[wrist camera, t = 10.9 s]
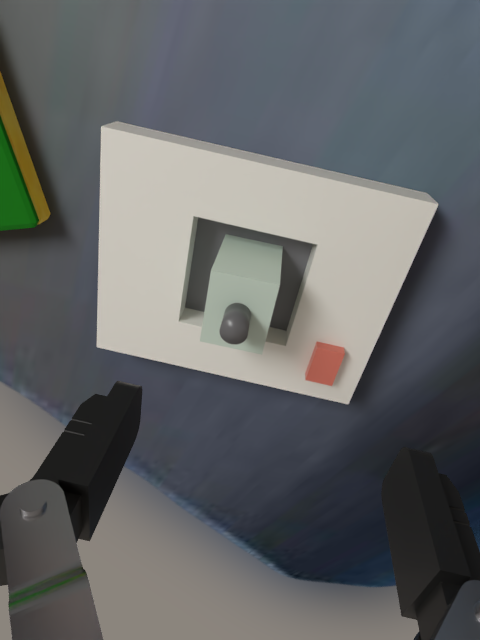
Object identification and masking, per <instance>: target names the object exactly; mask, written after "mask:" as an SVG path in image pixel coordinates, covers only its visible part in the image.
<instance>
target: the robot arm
mask: <svg viewBox="0 0 480 640" xmlns="http://www.w3.org/2000/svg"><path fill="white" fill-rule="evenodd" d="M141 401H142V386H138V385H134V384H129V383H125V382H121V381H117V382H116V383H115V384H114V386H113V388H112V389H111V391H110V393H109V394H108V396H103V395H98V394H95V395H93V396H92V397H90V398H89V399H88V400H86V401H85V402H84V403H82V404H81V405H80V407H79V408H78V410H77V411H76V413H75V414H74V416H73V417H72V420H71V421H70V422H69V423H68V425H67V427H66V428H65V431H64V432H63V433H62V434H61V436H60V437H59V439H58V441H57V442H56V443H55V445H54V446H53V448H52V449H51V451H50V453H49V454H48V456H47V457H46V459H45V460H44V462H43V463H42V465H41V466H40V468H39V469H38V471H37V473H36V474H35V475H34V477H33V478H32V479H31V480H30V481H28V482H26V483H23V484H21V485H19V486H18V487H16V488H15V489H13V490H12V491H11V492H10V493H8V494H4V495H1V496H0V586H2V585H8V590H9V615H10V624H11V634H12V640H103V637H102V632H101V628H100V624H99V620H98V616H97V612H96V608H95V605H94V600H93V597H92V592H91V588H90V584H89V581H88V577H87V574H86V572H85V570H84V569H83V567H82V564H81V560H80V556H79V552H78V548H77V544H76V543H77V541H78V539H83V540H87V541H90V539H91V537H92V535H93V533H94V531H95V528H96V526H97V524H98V522H99V519H100V517H101V515H102V513H103V511H104V508H105V506H106V504H107V502H108V500H109V497H110V495H111V493H112V490H113V488H114V486H115V484H116V482H117V479H118V477H119V475H120V473H121V471H122V468H123V466H124V464H125V462H126V459H127V457H128V455H129V453H130V451H131V448H132V446H133V444H134V442H135V439H136V436H137V433H138V429H139V425H140V415H141ZM382 504H383V509H384V515H385V521H386V527H387V533H388V539H389V545H390V551H391V556H392V562H393V568H394V574H395V580H396V586H397V592H398V597H399V603H400V609H401V615H402V616H403V617H407V618H412V619H416V620H417V621H418V625H419V632H418V634H417V635H416V636H415V638H414V640H480V552H479V549H478V546H477V543H476V540H475V537H474V534H473V532H472V529H471V527H469V524H470V523H469V520H468V517H467V514H466V513H465V512H464V510H465V509H464V506H463V503H462V500H461V497H460V495H459V492H458V490H457V489H456V488H455V486H454V485H453V484H452V482H451V481H450V479H449V478H448V477H447V475H444V474H440V473H438V471H437V467H436V464H435V461H434V458H433V456H432V454H431V453H428V452H424V451H420V450H415V449H411V448H406V447H403V448H402V449H401V450H400V452H399V454H398V455H397V457H396V459H395V461H394V462H393V464H392V466H391V468H390V469H389V471H388V473H387V475H386V477H385V478H384V481H383V485H382Z"/></svg>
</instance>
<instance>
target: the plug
mask: <svg viewBox="0 0 480 640" xmlns="http://www.w3.org/2000/svg"><path fill="white" fill-rule="evenodd" d="M282 250H283V246H279V245H274V244H270V243H265V242H260V241H256V240H251V239H246V238H241V237H237V236H232V235H227V234H226V235H225V237H224V240H223V242H222V245H221V247H220V250H219V252H218V254H217V257H216V259H215V262H214V264H213V267H212V269H211V273H210V280H209V286H208V292H207V299H206V305H205V311H204V318H203V324H202V330H201V337H200V341H201V342H205V343H210V344H215V345H219V346H224V347H229V348H233V349H238V350H243V351H247V352H252V353H257V354H261V355H262V353H263V349H264V345H265V341H266V337H267V333H268V329H269V326H270V322H271V318H272V314H273V310H274V306H275V302H276V298H277V295H278V291H279V287H280V278H281V264H282Z"/></svg>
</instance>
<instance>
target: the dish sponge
mask: <svg viewBox="0 0 480 640" xmlns="http://www.w3.org/2000/svg"><path fill="white" fill-rule="evenodd" d="M49 216H50V211H49V208H48V205H47V202H46V199H45V197H44V194H43V191H42V188H41V185H40V182H39V180H38V177H37V174H36V171H35V168H34V165H33V163H32V160H31V157H30V154H29V151H28V149H27V146H26V143H25V140H24V137H23V134H22V132H21V129H20V126H19V123H18V120H17V117H16V115H15V112H14V109H13V106H12V103H11V100H10V98H9V95H8V92H7V89H6V86H5V84H4V81H3V78H2V75H1V72H0V231H2V230H13V229H24V228H34V227H36V226H37V225H39V224H41V223H42V222H44V221H45V220H47V219H48V218H49Z"/></svg>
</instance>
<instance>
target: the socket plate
mask: <svg viewBox="0 0 480 640" xmlns="http://www.w3.org/2000/svg"><path fill="white" fill-rule="evenodd" d="M438 205H439V204H438V203H437V202H436V201H435V200H434V199H433V198H432V197H431V196H430V195H429V194H428V193H424V192H420V191H416V190H411V189H407V188H403V187H399V186H394V185H390V184H386V183H381V182H377V181H373V180H368V179H364V178H360V177H355V176H351V175H347V174H342V173H338V172H334V171H329V170H325V169H321V168H316V167H312V166H308V165H304V164H299V163H295V162H291V161H286V160H282V159H278V158H273V157H269V156H265V155H260V154H256V153H252V152H247V151H243V150H239V149H234V148H230V147H226V146H221V145H217V144H213V143H209V142H204V141H200V140H196V139H191V138H187V137H183V136H178V135H174V134H170V133H165V132H161V131H157V130H152V129H148V128H144V127H139V126H135V125H131V124H126V123H122V122H118V121H116V122H113V123H110V124H107V125H104V126H101V165H100V214H99V263H98V311H97V347H98V348H103V349H107V350H112V351H116V352H120V353H125V354H129V355H133V356H138V357H142V358H147V359H151V360H155V361H160V362H164V363H169V364H173V365H177V366H182V367H186V368H191V369H195V370H199V371H204V372H208V373H212V374H217V375H221V376H226V377H230V378H234V379H239V380H243V381H248V382H252V383H256V384H261V385H265V386H270V387H274V388H278V389H283V390H287V391H291V392H296V393H300V394H305V395H309V396H313V397H318V398H322V399H327V400H331V401H335V402H340V403H344V404H349V402H350V400H351V397H352V395H353V393H354V391H355V388H356V386H357V384H358V382H359V380H360V377H361V375H362V373H363V371H364V369H365V366H366V364H367V362H368V360H369V357H370V355H371V353H372V351H373V349H374V346H375V344H376V342H377V340H378V337H379V335H380V333H381V331H382V329H383V326H384V324H385V322H386V320H387V318H388V315H389V313H390V311H391V309H392V306H393V304H394V302H395V300H396V298H397V295H398V293H399V291H400V289H401V287H402V284H403V282H404V280H405V278H406V275H407V273H408V271H409V269H410V267H411V264H412V262H413V260H414V258H415V256H416V253H417V251H418V249H419V247H420V244H421V242H422V240H423V238H424V236H425V233H426V231H427V229H428V227H429V224H430V222H431V220H432V218H433V216H434V213H435V211H436V209H437V207H438ZM226 234H227V235H232V236H237V237H241V238H246V239H251V240H256V241H260V242H265V243H270V244H274V245H279V246H283V250H282V264H281V278H280V287H279V291H278V295H277V298H276V302H275V306H274V310H273V314H272V318H271V322H270V326H269V329H268V333H267V337H266V341H265V345H264V349H263V353H262V355H261V354H257V353H252V352H247V351H243V350H238V349H233V348H229V347H224V346H219V345H215V344H210V343H205V342H201V341H200V337H201V330H202V324H203V318H204V311H205V305H206V299H207V292H208V286H209V280H210V273H211V269H212V267H213V264H214V262H215V259H216V257H217V254H218V252H219V250H220V247H221V245H222V242H223V240H224V237H225V235H226Z"/></svg>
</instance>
